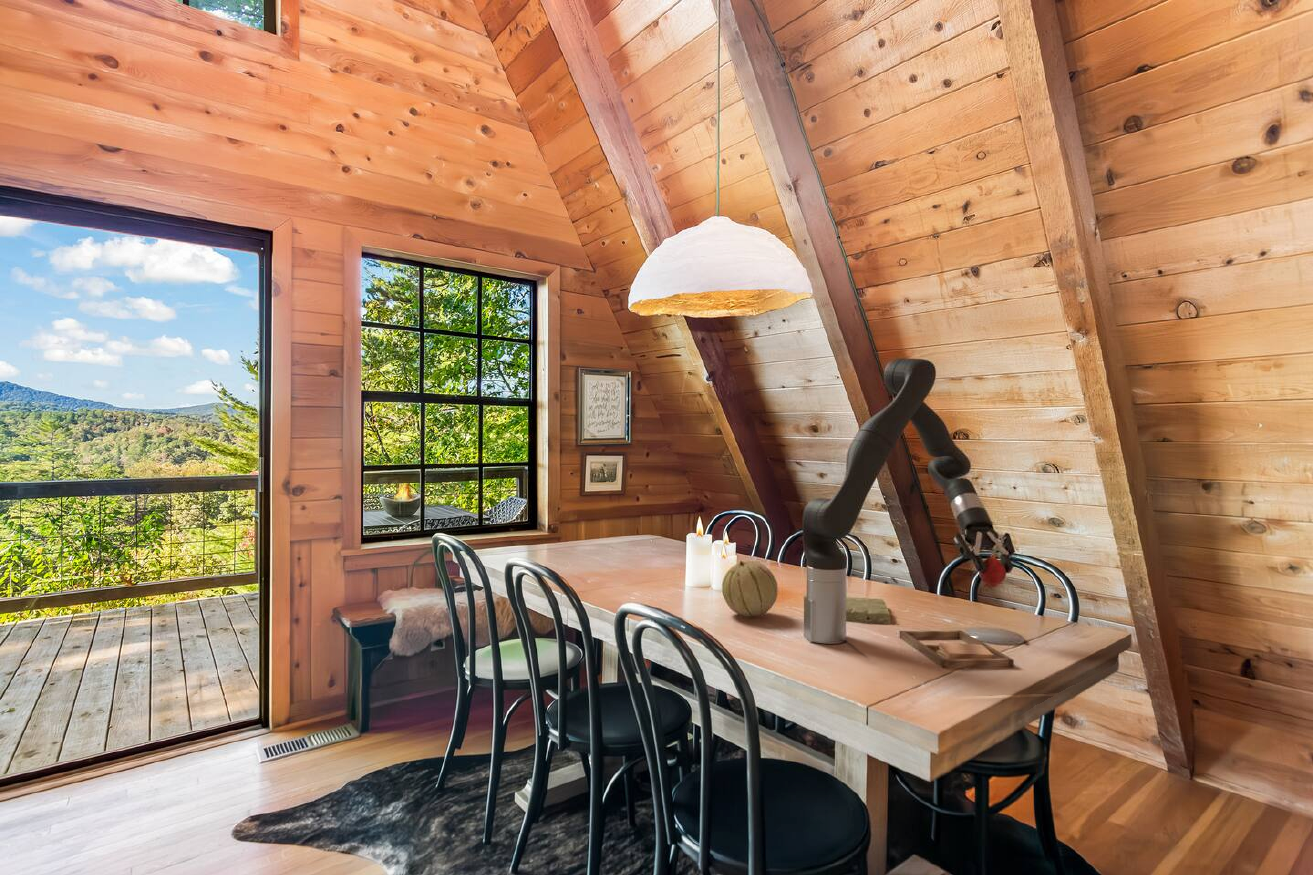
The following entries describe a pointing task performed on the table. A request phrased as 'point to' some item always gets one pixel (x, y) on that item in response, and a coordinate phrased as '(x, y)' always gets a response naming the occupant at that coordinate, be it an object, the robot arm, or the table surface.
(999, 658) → the brown flat frame
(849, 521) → the robot arm
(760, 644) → the table surface
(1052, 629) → the table surface
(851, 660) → the table surface
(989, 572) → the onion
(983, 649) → the offcut top
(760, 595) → the cantaloupe
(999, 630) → the plate
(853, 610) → the green flat block
